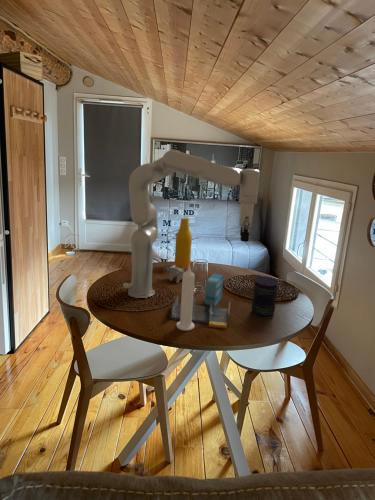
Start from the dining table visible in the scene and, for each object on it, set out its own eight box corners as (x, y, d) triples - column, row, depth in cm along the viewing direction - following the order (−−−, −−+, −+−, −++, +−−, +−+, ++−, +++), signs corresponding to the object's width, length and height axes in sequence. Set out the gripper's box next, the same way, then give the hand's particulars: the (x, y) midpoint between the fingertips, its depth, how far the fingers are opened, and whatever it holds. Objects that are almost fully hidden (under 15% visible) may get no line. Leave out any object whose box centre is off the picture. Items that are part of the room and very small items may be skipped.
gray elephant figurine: (182, 284, 185) (184, 270, 183) (159, 280, 186) (161, 266, 184) (185, 279, 194) (187, 265, 192) (164, 275, 195) (165, 261, 193)
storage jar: (255, 306, 163) (259, 275, 159) (276, 312, 159) (281, 280, 154) (247, 314, 155) (251, 281, 151) (269, 320, 150) (274, 287, 146)
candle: (176, 322, 144) (179, 262, 137) (193, 322, 144) (197, 263, 138) (176, 330, 137) (180, 268, 130) (195, 331, 138) (199, 269, 131)
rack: (169, 321, 144) (170, 310, 142) (176, 305, 159) (177, 294, 158) (228, 328, 141) (229, 317, 140) (229, 311, 157) (230, 300, 155)
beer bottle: (192, 268, 210) (196, 219, 202) (179, 270, 206) (181, 220, 198) (185, 263, 218) (187, 216, 210) (171, 265, 213) (174, 217, 206)
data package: (214, 308, 159) (216, 282, 156) (204, 305, 160) (206, 280, 157) (221, 298, 170) (223, 274, 167) (212, 296, 171) (214, 272, 168)
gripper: (238, 196, 159) (235, 233, 164) (239, 201, 143) (235, 242, 148) (255, 197, 159) (251, 235, 163) (258, 202, 142) (254, 244, 147)
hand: (244, 238), depth 155 cm, fingers open, 9 cm apart
